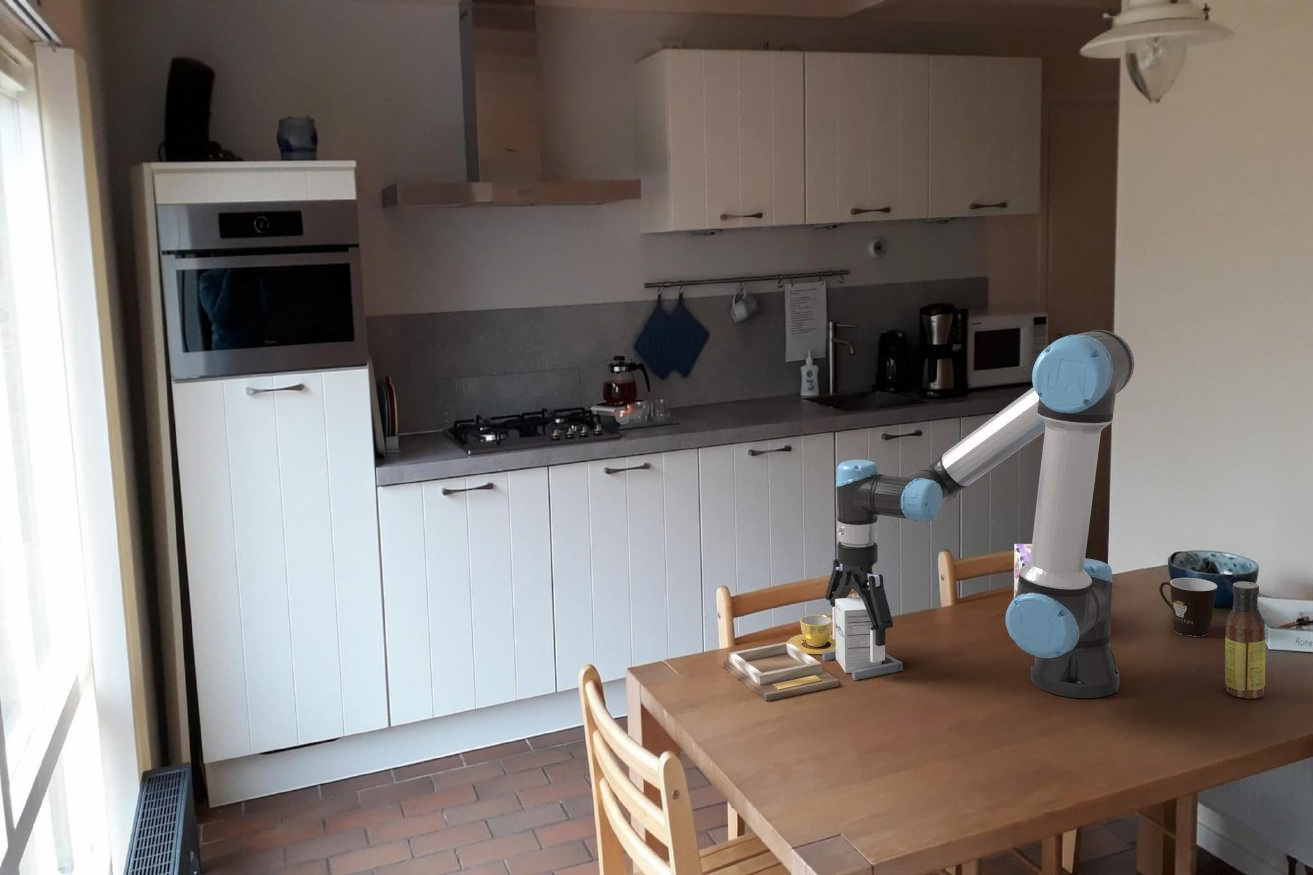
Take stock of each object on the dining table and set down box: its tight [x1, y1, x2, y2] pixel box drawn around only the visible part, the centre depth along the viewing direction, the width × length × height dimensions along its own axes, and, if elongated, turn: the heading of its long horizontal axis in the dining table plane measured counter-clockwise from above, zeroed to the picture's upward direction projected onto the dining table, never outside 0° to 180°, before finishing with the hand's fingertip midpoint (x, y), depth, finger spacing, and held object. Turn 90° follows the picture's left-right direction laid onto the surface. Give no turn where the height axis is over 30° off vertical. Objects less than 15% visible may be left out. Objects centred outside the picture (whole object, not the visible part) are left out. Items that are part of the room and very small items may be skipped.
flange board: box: [722, 641, 840, 702], centre depth 213 cm, size 18×15×3 cm
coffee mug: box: [1158, 577, 1218, 636], centre depth 229 cm, size 12×9×10 cm
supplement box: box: [835, 596, 883, 674], centre depth 216 cm, size 7×7×13 cm
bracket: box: [821, 649, 904, 681], centre depth 217 cm, size 12×10×2 cm
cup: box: [786, 614, 836, 655], centre depth 229 cm, size 12×12×5 cm
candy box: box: [1013, 543, 1032, 599], centre depth 232 cm, size 14×6×16 cm, turn 169°
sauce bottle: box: [1224, 580, 1266, 700], centre depth 196 cm, size 7×6×20 cm
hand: (858, 649), depth 217 cm, fingers open, 13 cm apart
